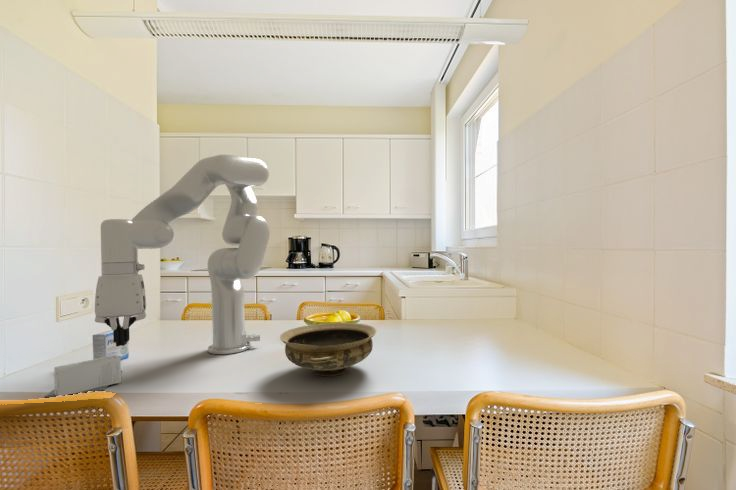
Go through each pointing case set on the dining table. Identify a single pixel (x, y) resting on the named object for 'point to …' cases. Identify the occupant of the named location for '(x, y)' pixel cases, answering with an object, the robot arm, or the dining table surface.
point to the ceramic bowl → (328, 346)
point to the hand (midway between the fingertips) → (121, 344)
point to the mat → (79, 392)
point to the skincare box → (87, 375)
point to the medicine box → (108, 346)
